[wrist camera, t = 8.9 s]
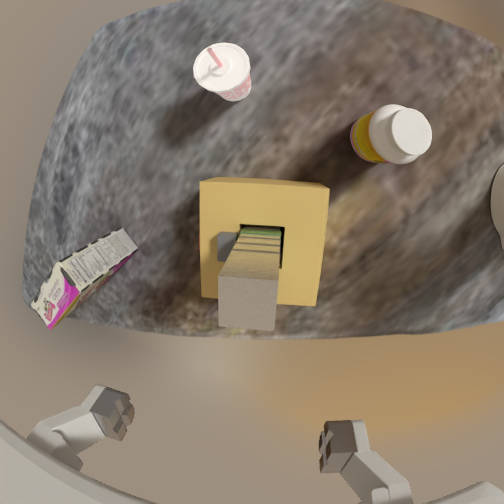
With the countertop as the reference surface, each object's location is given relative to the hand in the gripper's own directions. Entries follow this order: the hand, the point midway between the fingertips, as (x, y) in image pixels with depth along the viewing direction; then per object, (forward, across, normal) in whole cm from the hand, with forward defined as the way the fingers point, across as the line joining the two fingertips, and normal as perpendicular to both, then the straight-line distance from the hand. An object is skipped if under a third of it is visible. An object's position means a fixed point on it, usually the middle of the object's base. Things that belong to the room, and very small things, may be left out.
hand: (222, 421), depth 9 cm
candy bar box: (+31, +25, +6) cm, 41 cm away
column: (+26, 0, 0) cm, 26 cm away
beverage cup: (+31, +5, -20) cm, 37 cm away
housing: (+31, 0, 0) cm, 31 cm away
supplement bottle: (+31, -14, -14) cm, 37 cm away
